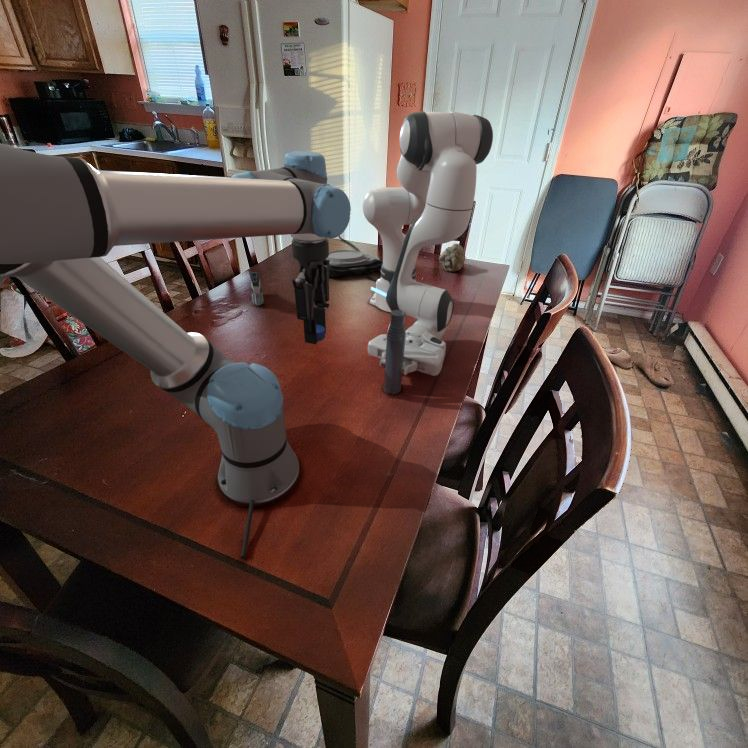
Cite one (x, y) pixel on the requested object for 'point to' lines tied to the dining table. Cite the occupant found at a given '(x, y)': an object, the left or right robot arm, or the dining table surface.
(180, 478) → the dining table surface
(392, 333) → the bottle
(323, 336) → the cap
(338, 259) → the brake disc
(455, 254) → the custard apple
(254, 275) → the toy gun
